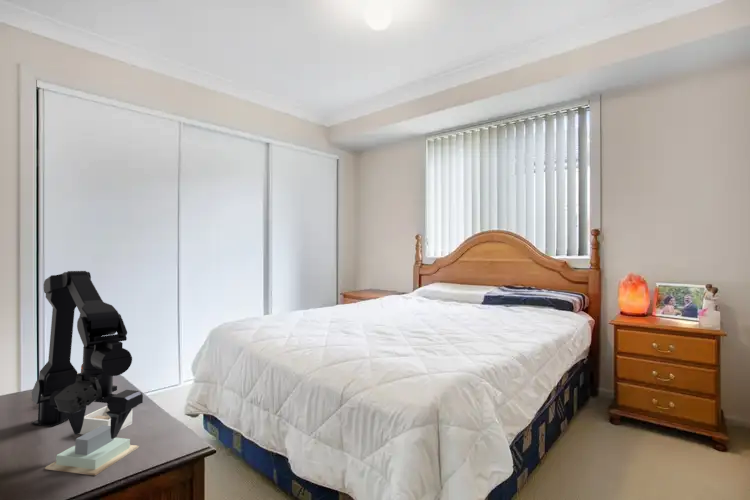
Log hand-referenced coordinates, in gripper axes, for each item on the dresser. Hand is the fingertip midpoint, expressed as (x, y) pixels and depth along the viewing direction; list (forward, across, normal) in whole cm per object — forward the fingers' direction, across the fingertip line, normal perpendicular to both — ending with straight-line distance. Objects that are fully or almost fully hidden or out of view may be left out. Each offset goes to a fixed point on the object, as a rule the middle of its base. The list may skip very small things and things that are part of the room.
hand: (95, 436), depth 87 cm
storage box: (+5, -9, +13) cm, 17 cm away
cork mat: (+5, 0, 0) cm, 5 cm away
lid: (+4, 0, 0) cm, 4 cm away
